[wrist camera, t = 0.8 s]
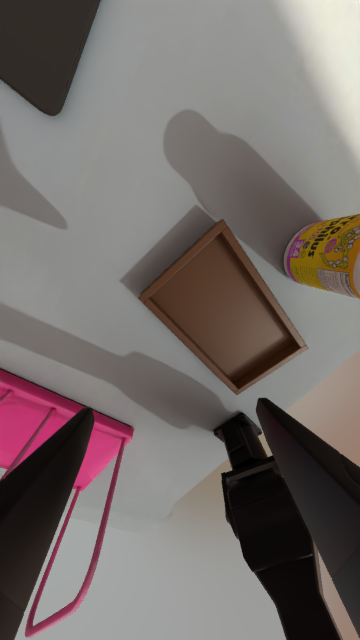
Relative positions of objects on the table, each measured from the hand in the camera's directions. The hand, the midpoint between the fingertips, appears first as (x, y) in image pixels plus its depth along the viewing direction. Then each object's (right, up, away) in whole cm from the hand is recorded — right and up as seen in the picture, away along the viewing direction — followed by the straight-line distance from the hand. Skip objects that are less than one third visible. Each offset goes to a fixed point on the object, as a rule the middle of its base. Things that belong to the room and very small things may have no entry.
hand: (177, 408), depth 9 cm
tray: (+6, +5, +13) cm, 15 cm away
